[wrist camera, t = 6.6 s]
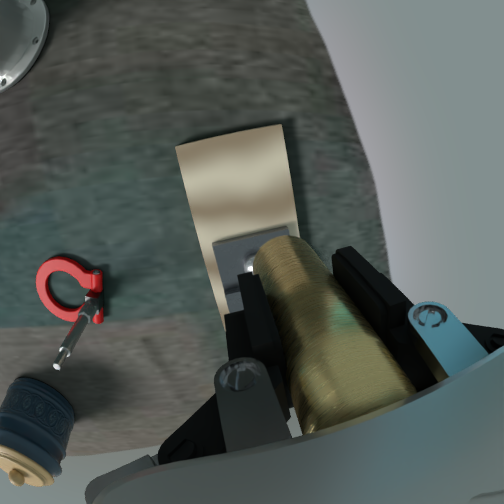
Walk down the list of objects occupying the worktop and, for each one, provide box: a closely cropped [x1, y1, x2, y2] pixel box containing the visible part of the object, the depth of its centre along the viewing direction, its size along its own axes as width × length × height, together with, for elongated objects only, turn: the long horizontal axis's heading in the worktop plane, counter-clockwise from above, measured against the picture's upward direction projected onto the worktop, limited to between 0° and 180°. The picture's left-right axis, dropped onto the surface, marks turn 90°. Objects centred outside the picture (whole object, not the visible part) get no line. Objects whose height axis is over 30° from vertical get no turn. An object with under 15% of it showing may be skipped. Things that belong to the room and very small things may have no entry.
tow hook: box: [36, 256, 104, 370], centre depth 27 cm, size 8×13×9 cm
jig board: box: [175, 124, 300, 331], centre depth 33 cm, size 26×10×2 cm, turn 11°
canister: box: [0, 378, 75, 487], centre depth 31 cm, size 13×13×18 cm
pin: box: [253, 235, 418, 435], centre depth 9 cm, size 3×3×10 cm
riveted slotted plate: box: [212, 226, 290, 313], centre depth 33 cm, size 16×8×3 cm, turn 11°
